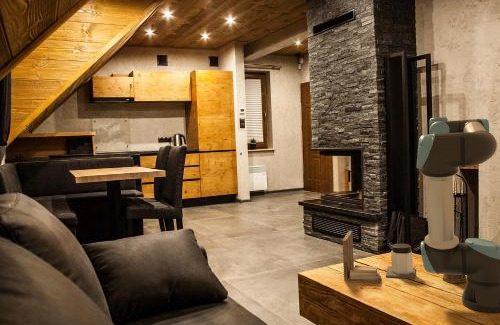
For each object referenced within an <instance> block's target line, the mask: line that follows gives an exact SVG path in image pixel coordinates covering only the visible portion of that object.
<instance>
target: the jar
mask: <svg viewBox="0 0 500 325" xmlns="http://www.w3.org/2000/svg"><path fill="white" fill-rule="evenodd" d="M390 252H391V257H390V258H391V266H392V271H393V272H394V273H396V274H405V275H408V274H410V273H412V272H413V268H414V265H413V264H414V263H413V252H412V246H411V245H410V244H408V243H394V244H392V245H391V251H390Z"/></svg>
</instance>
